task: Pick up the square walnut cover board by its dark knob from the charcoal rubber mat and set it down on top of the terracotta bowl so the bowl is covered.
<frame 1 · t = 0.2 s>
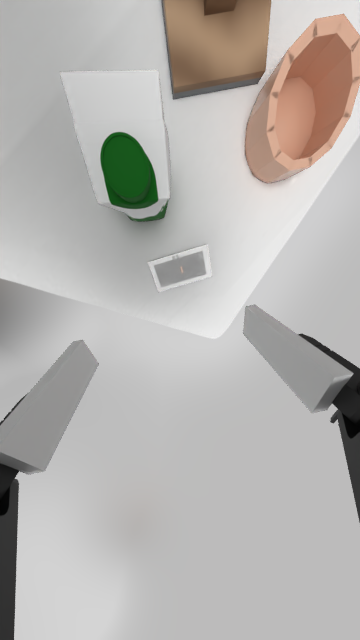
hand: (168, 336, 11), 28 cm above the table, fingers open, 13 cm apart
touchpad: (180, 268, 36), on the table
mat: (213, 4, 19), on the table
milk carton: (144, 197, 28), on the table
bowl: (279, 134, 26), on the table
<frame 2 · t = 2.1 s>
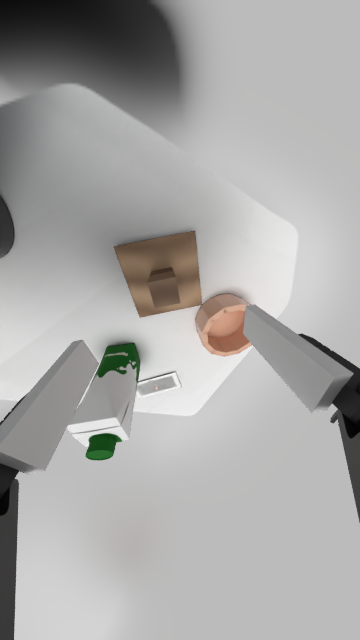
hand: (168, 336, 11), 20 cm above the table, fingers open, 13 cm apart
touchpad: (156, 382, 46), on the table
milk carton: (124, 353, 38), on the table
bowl: (221, 318, 36), on the table
cover board: (163, 278, 28), point 1 cm above the table, touching mat
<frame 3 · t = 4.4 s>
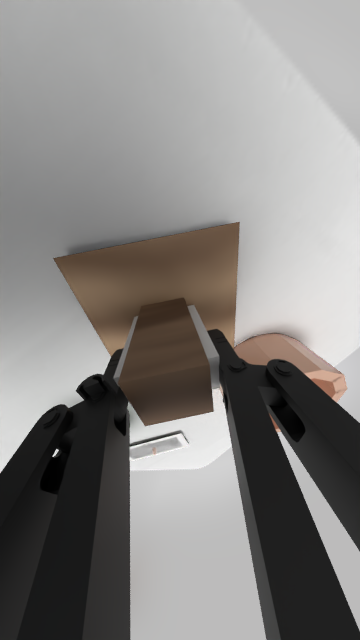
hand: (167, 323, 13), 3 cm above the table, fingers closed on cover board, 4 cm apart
touchpad: (154, 441, 33), on the table
bowl: (257, 367, 22), on the table
cover board: (166, 315, 15), point 1 cm above the table, touching gripper, mat
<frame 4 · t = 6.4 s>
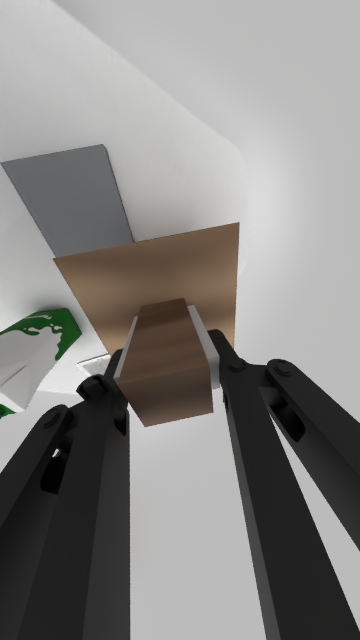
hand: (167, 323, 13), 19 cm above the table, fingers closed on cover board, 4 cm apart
touchpad: (109, 362, 41), on the table
mat: (82, 217, 23), on the table
milk carton: (60, 323, 33), on the table
cover board: (166, 315, 15), point 18 cm above the table, touching gripper
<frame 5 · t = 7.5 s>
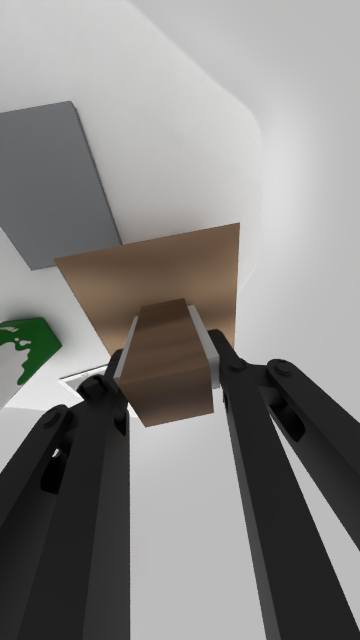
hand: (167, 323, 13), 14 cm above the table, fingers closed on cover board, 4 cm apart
touchpad: (97, 377, 36), on the table
mat: (52, 204, 18), on the table
milk carton: (35, 334, 27), on the table
cover board: (167, 315, 15), point 12 cm above the table, touching gripper
when the fingers open (10 cm above the table, at t = 8.5 s): cover board drops 2 cm, resting on bowl.
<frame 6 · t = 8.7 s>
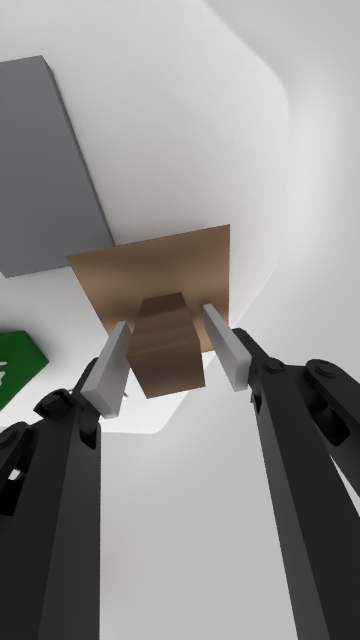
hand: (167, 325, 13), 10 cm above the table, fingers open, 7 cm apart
mat: (27, 197, 15), on the table
milk carton: (17, 349, 24), on the table
cover board: (166, 308, 16), point 6 cm above the table, touching bowl
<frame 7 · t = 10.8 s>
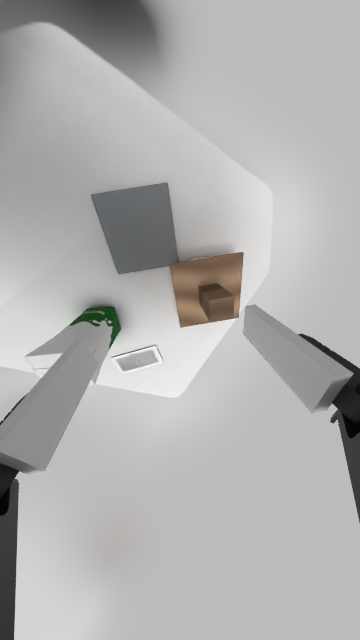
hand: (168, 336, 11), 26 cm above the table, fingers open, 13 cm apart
touchpad: (138, 357, 46), on the table
mat: (140, 234, 29), on the table
milk carton: (105, 319, 38), on the table
cover board: (207, 292, 30), point 6 cm above the table, touching bowl
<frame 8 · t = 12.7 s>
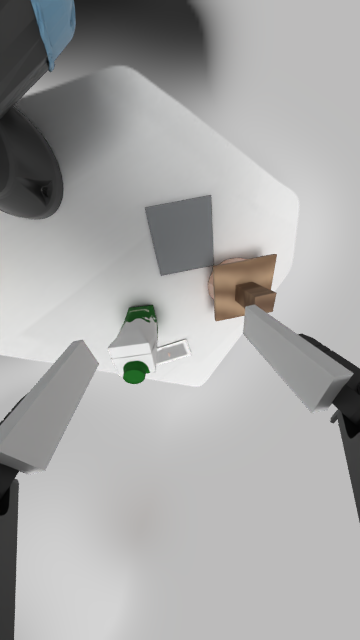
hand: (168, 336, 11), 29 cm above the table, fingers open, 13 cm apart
touchpad: (168, 351, 51), on the table
mat: (182, 239, 33), on the table
milk carton: (143, 316, 42), on the table
cover board: (241, 290, 34), point 6 cm above the table, touching bowl
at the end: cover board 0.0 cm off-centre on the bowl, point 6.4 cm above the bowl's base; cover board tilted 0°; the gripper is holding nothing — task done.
